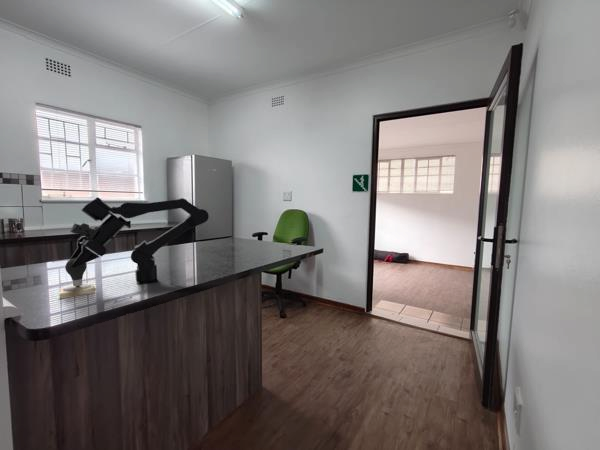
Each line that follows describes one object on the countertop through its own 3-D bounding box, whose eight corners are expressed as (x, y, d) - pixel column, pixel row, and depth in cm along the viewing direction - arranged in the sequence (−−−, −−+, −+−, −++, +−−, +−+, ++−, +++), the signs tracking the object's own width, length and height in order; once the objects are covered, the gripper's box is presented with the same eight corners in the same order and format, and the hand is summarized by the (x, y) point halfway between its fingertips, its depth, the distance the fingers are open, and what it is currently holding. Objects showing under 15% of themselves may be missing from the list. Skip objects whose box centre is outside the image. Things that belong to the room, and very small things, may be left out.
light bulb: (73, 290, 90) (70, 260, 89) (63, 288, 93) (60, 259, 92) (92, 285, 96) (89, 257, 95) (82, 283, 98) (79, 256, 97)
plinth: (93, 286, 100) (93, 281, 100) (95, 292, 94) (94, 287, 93) (60, 291, 95) (60, 286, 95) (60, 298, 88) (59, 293, 88)
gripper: (83, 213, 101) (44, 247, 95) (91, 215, 88) (47, 254, 81) (110, 233, 108) (75, 265, 101) (121, 237, 94) (83, 275, 87)
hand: (70, 265), depth 92 cm, fingers open, 8 cm apart
